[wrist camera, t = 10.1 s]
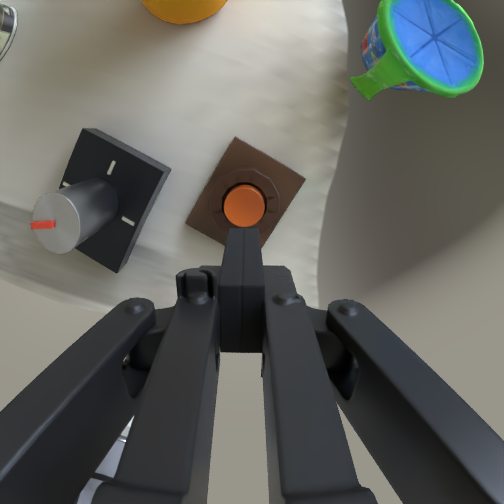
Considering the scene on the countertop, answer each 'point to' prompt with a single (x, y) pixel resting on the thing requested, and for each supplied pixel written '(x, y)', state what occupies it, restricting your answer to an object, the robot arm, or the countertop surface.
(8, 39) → the coffee can
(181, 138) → the countertop surface
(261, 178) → the button block
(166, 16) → the beer bottle
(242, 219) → the button
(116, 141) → the control panel
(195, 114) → the countertop surface
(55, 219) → the dial
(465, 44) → the snack cup
